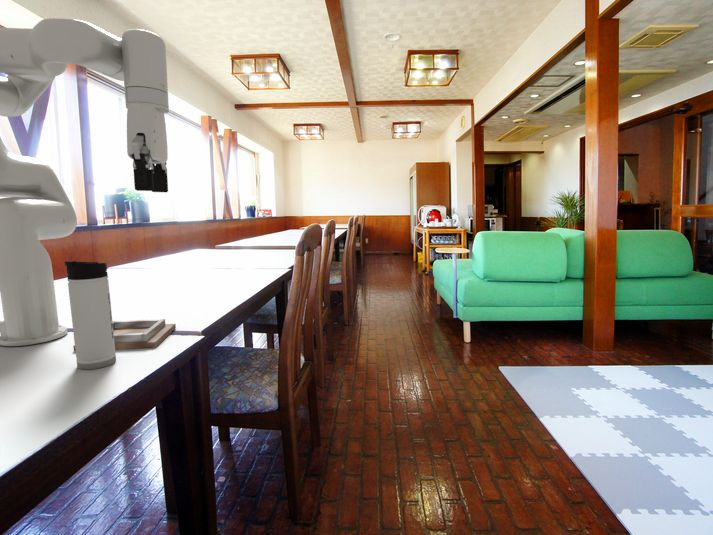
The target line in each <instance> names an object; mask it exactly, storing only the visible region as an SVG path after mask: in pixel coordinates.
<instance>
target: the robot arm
mask: <svg viewBox="0 0 713 535" xmlns="http://www.w3.org/2000/svg"><path fill="white" fill-rule="evenodd" d="M68 64H71V65H76V66H80V67H83V68H86V69H89V70H91V71H94V72H96V73H99V74H101V75H104V76H105V77H109V78H111V79H113V80H116V81H121V82H123V84H124V87H123V88H124V98H125V99H124V100H125V108H126V109H127V111H126V112H127V113H126V149H127V150H126V153H127V156H128V157H129V158H130V159H132V160H133V161H132V168H133V180H134V181H133V184H134V189H135V191H138V192H139V191H141V192H142V191H143V192H144V191H145V192H153V193H169V185H168V184H169V183H168V181H169V180H168V168H167V162H168V158H169V156H168V153H169V152H168V151H169V150H168V138H167V137H168V136H167V135H168V134H167V129H166V128H167V126H166V119H165V114H168V113H169V112H170V106H169V91H168V90H169V89H168V88H169V86H168V69H167V68H168V67H167V66H168V64H167V50H166V44H165V41H164V39H163V38H162V37H161V36H160V35H159V34H157V33H154V32H152V31H150V30H145V29H138V28H132V29H131V28H130V29H126V30H125V31H124V32H123V33H122V35H121V38H120V37H117V36H116V35H114V34H111V33H110V32H107V31H105V30H104V29H102V28H100V27H98V26H96V25H94V24H92V23H90V22H87V21H84V20H80V19H76V18H75V19H73V18H51V17H50V18H44V19H42V20H40V21H38V23H36V24H35V25H34V26H33V28H23V27H22V28H20V27H17V28H16V27H0V73H1V74H2V75H6V77H4V76H0V116H1V117H7V118H15V117H19V116H22V115H23V114H25V113H26V112H27V111H29V110H30V108H31V107H32V106H33V105H34V104H35V103H36V102H37V100H38V99H39V98H40V97H41V96H42V95H43V94H44V92H46V91H47V89H48V88H49V87H50V86H51V84H52V83H53V82H54V80H55V78H56V77H59V76H61V75H62V74H63V73H65V71H66V70H67V67H68ZM77 226H78V219H77V212H76V211H75V208H74V207H73V204H72V202H71V200H70V198H69V197H68V194H67V193H66V192H65V189H64V187H63V186H62V183H61V182H60V180H59V178H58V176H57V174H56V172H55V171H54V170H53V168H52V167H51V166H50V165H48V164H47V162H44V161H43V160H41V159H39V158H36V157H32V156H26V155H17V154H14V153H12V152H10V150H9V149H8V147H6V145H5V143H4V142H3V140H2V138H1V137H0V301H1V307H2V308H1V309H2V315H3V321H0V346H3V347H23V346H30V345H36V344H41V343H46V342H51V341H55V340H57V339H60V338H62V337H65V336H66V335H67V334H68V330H69V329H68V327H67V326H65V325H60V324H59V323H60V322H59V316H58V308H57V297H56V290H55V284H54V283H55V282H54V281H55V280H54V272H53V266H52V265H53V264H52V259H51V257H50V254H49V252H48V251H47V249H46V248H45V247H44V246H43V244H42V243H41V240H52V239H53V240H55V239H62V238H66V237H68V236H70V235H72V234H73V233H74V232H75V231H76V229H77Z"/></svg>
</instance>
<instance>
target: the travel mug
mask: <svg viewBox="0 0 713 535" xmlns="http://www.w3.org/2000/svg"><path fill="white" fill-rule="evenodd" d="M64 266H66V273H67V282H68V283H67V287H68V297H69V303H70V304H69V305H70V312H71V315H70V316H71V322H72V323H71V324H72V330H73V331H72V334H73V339H74V340H73V341H74V345H75V351H74V352H75V358H76V366H77V368H79V369H80V370H87V371H88V370H96V369H101V368H105V367H108V366H111V365H112V364H113V363H116V360H117V356H116V355H117V354H116V349H115V343H114V333H113V323H112V321H113V315H112V313H113V312H112V306H111V305H112V304H111V293H110V283H109V282H110V281H109V275H108V272H107V271H108V266H107V262H98V261H76V260H65V261H64Z"/></svg>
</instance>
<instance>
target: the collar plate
mask: <svg viewBox="0 0 713 535" xmlns="http://www.w3.org/2000/svg"><path fill="white" fill-rule="evenodd" d="M112 323H113V333H114V343H115V350H132V349H133V350H134V349H135V350H136V349H151V348H152V349H155V348H158V346H159V345H160V344H161V343H162V342H163V341H164V340H166V339H167V338H168V337H169V335H171V334H172V333H173V332H174V331H175V330H176V329H175V328H176V323H166V319H165V318H160V319H159V318H158V319H157V318H156V319H155V318H154V319H134V320H133V319H131V320H112ZM174 329H175V330H174ZM173 330H174V331H173ZM172 331H173V332H172ZM73 352H76V351H75V344H74V345H73Z"/></svg>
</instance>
